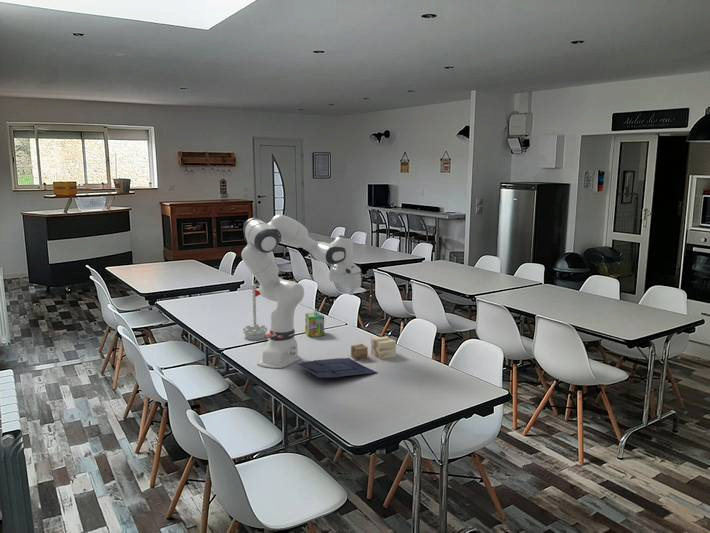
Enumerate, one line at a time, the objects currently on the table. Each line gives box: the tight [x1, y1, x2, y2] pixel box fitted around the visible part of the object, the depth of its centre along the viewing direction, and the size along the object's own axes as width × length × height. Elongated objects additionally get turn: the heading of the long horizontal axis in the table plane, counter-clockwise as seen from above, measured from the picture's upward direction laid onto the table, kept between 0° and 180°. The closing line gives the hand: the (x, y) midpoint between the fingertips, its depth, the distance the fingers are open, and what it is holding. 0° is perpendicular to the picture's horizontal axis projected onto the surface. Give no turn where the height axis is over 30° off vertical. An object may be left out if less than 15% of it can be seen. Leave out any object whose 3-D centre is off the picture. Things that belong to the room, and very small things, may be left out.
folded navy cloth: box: [297, 357, 379, 379], centre depth 241 cm, size 24×30×4 cm
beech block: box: [370, 335, 397, 360], centre depth 264 cm, size 9×9×8 cm
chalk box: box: [304, 308, 325, 338], centre depth 297 cm, size 9×9×15 cm
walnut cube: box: [350, 343, 369, 362], centre depth 259 cm, size 6×6×6 cm
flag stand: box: [242, 283, 268, 340], centre depth 292 cm, size 13×13×30 cm
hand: (344, 292), depth 272 cm, fingers open, 8 cm apart
